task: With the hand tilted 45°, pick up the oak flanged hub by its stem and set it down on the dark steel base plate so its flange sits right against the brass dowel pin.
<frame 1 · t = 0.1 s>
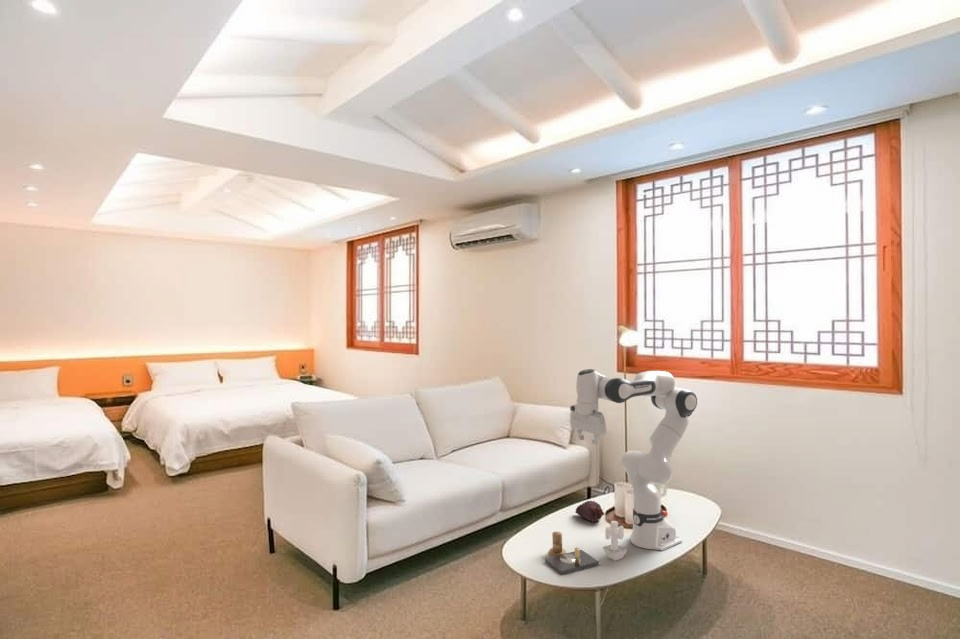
hand: (588, 442, 221), 48 cm above the table, tool pointing down, fingers open, 8 cm apart
dowel: (577, 567, 212), resting on base plate
flange hub: (557, 553, 225), on the table
figurine: (614, 557, 220), on the table
base plate: (571, 563, 215), on the table
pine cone: (590, 519, 261), on the table
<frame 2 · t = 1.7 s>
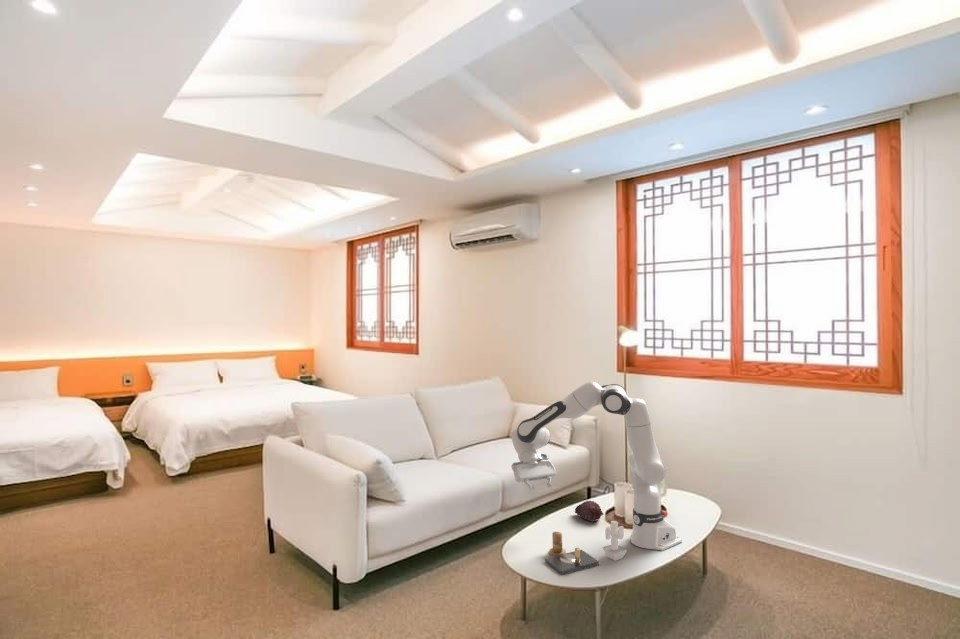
hand: (541, 488, 235), 24 cm above the table, tool tilted 45°, fingers open, 8 cm apart
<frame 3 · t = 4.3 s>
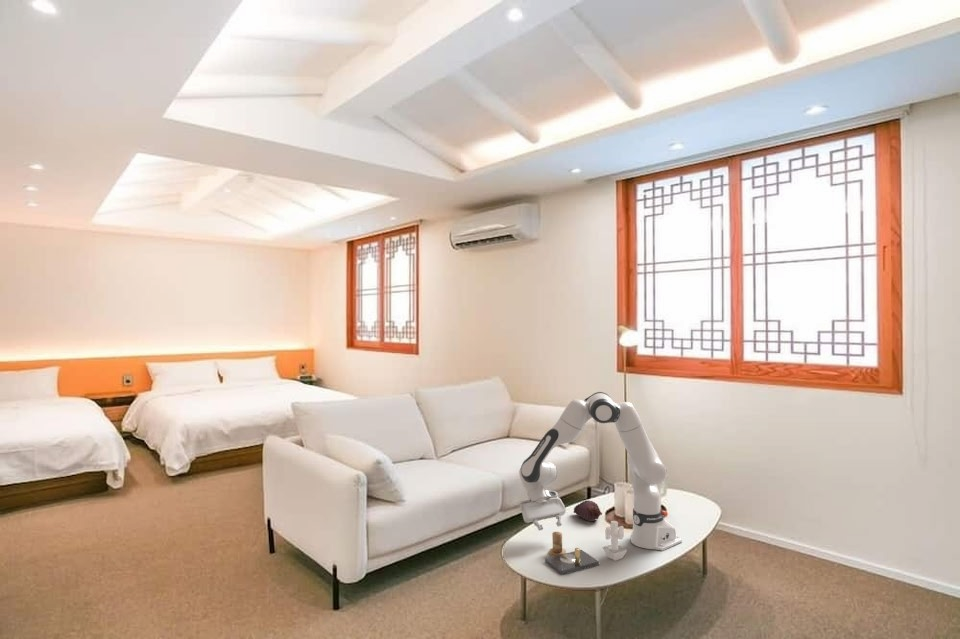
hand: (550, 527, 229), 9 cm above the table, tool tilted 45°, fingers open, 8 cm apart
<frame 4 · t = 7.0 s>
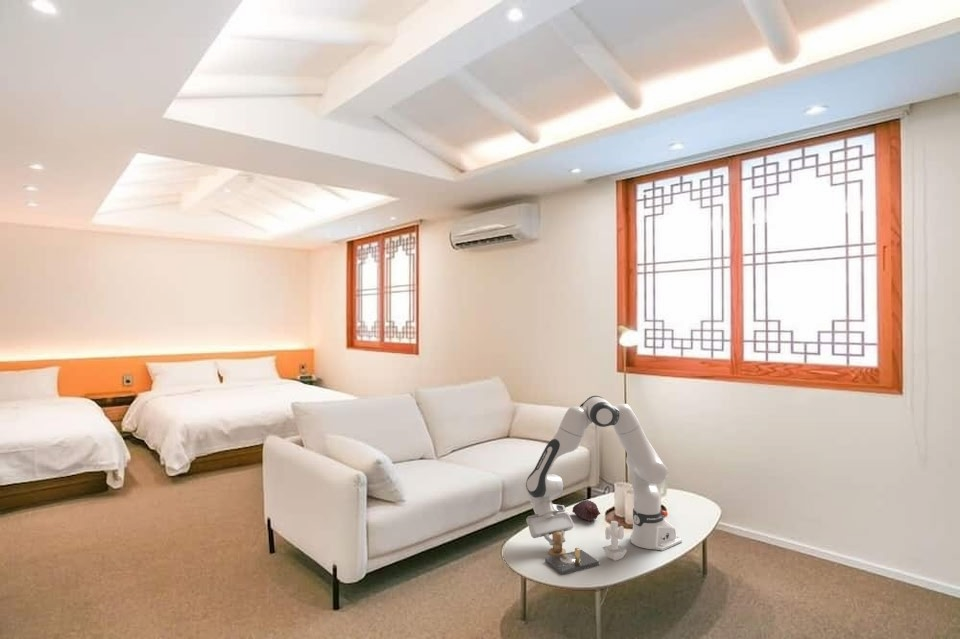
hand: (558, 543, 224), 4 cm above the table, tool tilted 45°, fingers closed on flange hub, 4 cm apart
flange hub: (557, 553, 225), on the table, touching gripper
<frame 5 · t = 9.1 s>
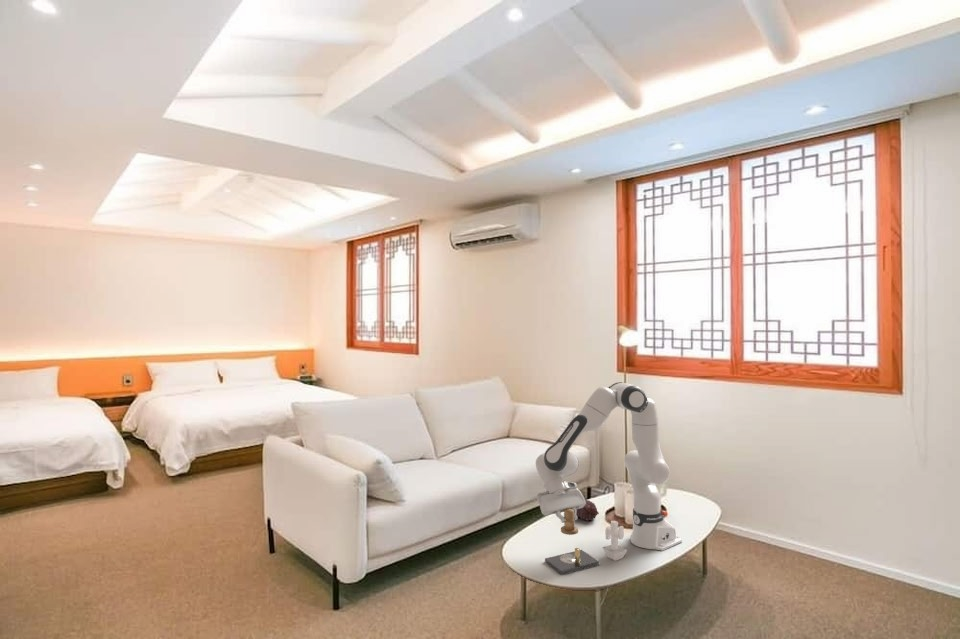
hand: (570, 520, 216), 17 cm above the table, tool tilted 45°, fingers closed on flange hub, 4 cm apart
flange hub: (569, 531, 217), point 13 cm above the table, touching gripper
when the fingers open (8 cm above the table, at t = 11.7 s): flange hub drops 1 cm, resting on base plate.
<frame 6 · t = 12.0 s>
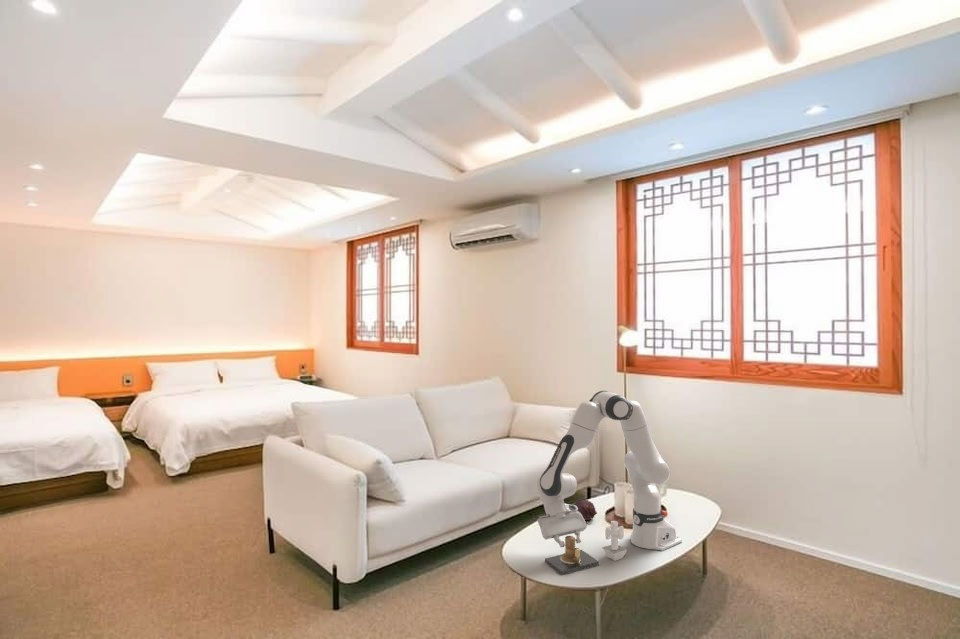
hand: (571, 544, 215), 8 cm above the table, tool tilted 45°, fingers open, 6 cm apart
flange hub: (570, 558, 216), point 2 cm above the table, touching base plate
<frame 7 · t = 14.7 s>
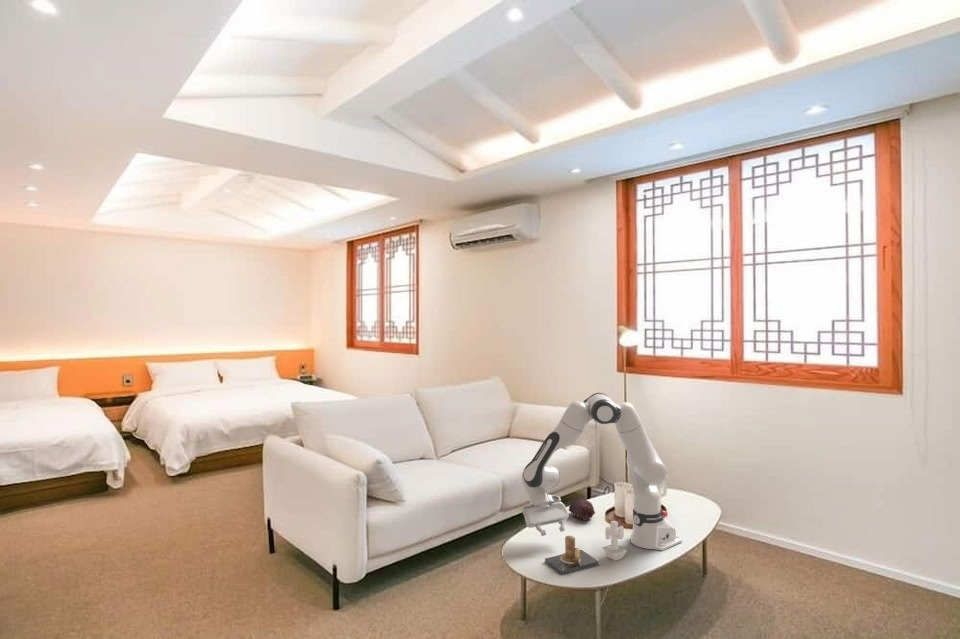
hand: (553, 533, 227), 8 cm above the table, tool tilted 45°, fingers open, 8 cm apart
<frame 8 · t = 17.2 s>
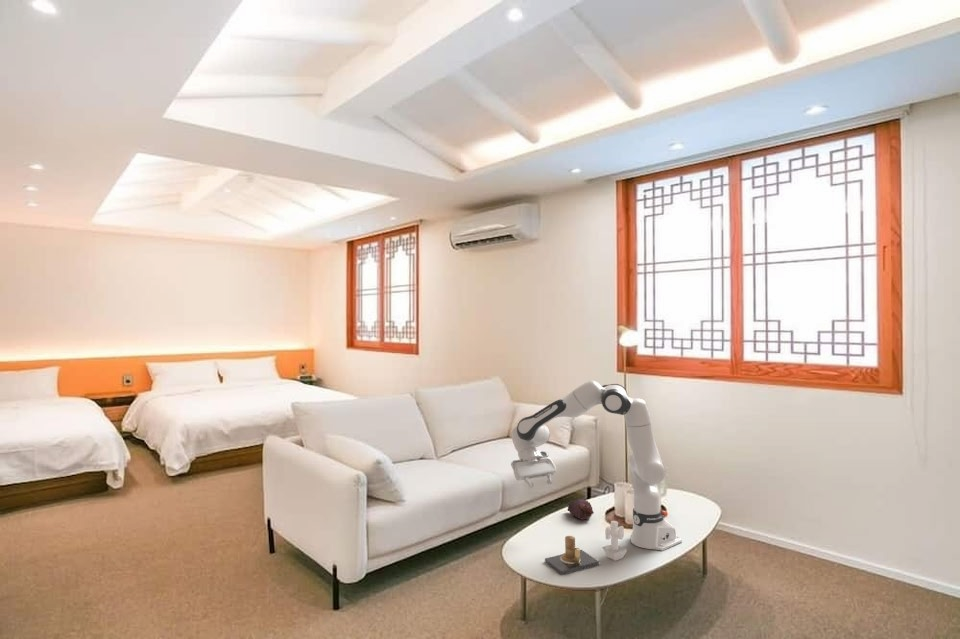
hand: (541, 485, 236), 25 cm above the table, tool tilted 45°, fingers open, 8 cm apart
at the end: flange hub inside the target area on the base plate (0.1 cm from its centre), point 1.6 cm above the base plate's base; flange hub 5.0 cm from the dowel (horizontally); flange hub tilted 0° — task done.
